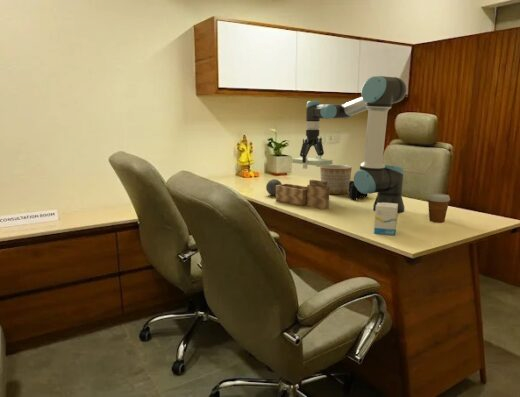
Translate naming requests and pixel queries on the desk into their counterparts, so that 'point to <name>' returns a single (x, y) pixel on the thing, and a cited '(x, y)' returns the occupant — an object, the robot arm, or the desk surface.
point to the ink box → (385, 218)
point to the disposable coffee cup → (438, 207)
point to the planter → (336, 178)
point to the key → (318, 183)
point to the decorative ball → (272, 186)
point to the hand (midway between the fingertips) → (311, 167)
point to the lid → (313, 161)
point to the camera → (354, 192)
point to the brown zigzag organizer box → (303, 195)
